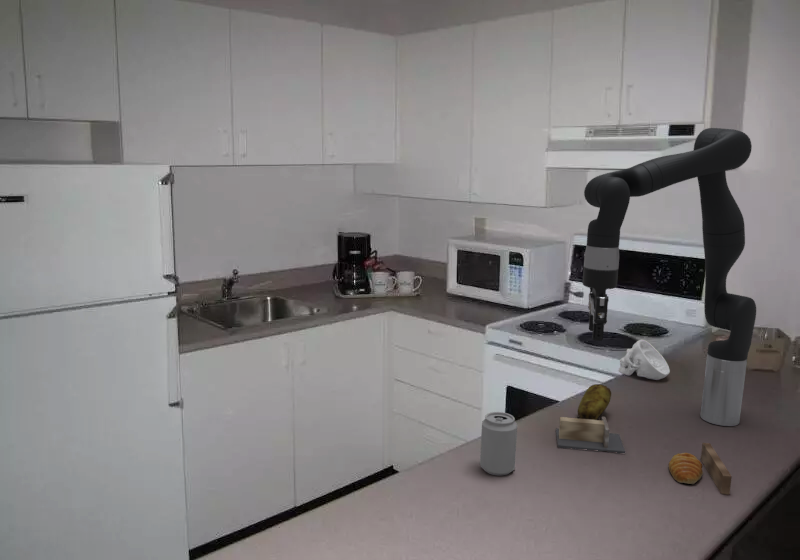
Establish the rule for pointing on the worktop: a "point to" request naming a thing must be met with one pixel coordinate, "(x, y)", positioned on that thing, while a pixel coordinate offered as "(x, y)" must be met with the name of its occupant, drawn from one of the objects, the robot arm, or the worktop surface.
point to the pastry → (685, 468)
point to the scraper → (584, 430)
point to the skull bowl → (644, 361)
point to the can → (498, 443)
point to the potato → (594, 402)
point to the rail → (716, 468)
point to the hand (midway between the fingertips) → (595, 335)
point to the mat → (593, 444)
